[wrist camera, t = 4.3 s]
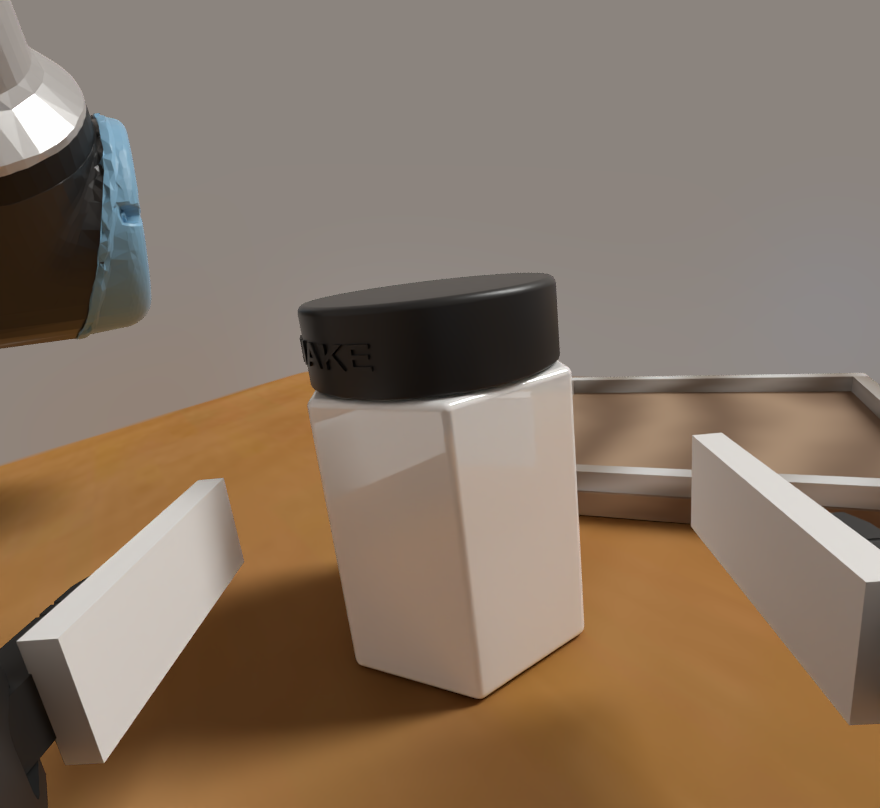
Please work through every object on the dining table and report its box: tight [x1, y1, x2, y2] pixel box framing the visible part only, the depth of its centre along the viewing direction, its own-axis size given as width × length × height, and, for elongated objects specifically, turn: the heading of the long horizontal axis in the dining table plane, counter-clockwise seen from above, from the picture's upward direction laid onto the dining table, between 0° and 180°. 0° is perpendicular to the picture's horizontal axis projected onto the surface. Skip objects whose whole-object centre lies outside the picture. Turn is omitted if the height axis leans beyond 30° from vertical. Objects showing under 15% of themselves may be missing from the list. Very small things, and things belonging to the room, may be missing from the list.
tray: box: [572, 373, 880, 529], centre depth 32 cm, size 22×18×2 cm
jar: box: [298, 273, 584, 699], centre depth 19 cm, size 9×8×12 cm
